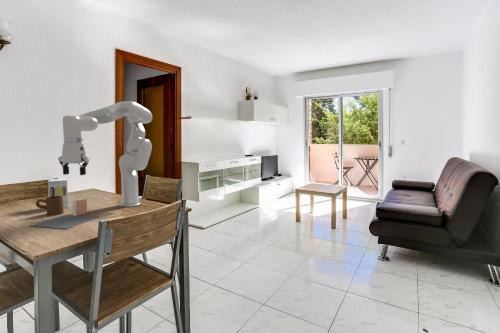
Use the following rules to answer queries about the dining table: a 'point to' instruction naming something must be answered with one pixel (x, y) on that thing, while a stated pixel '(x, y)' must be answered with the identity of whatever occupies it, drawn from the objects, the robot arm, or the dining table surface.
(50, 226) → the mat
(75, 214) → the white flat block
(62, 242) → the dining table surface
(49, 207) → the mug
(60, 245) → the dining table surface
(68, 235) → the dining table surface
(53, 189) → the supplement box
